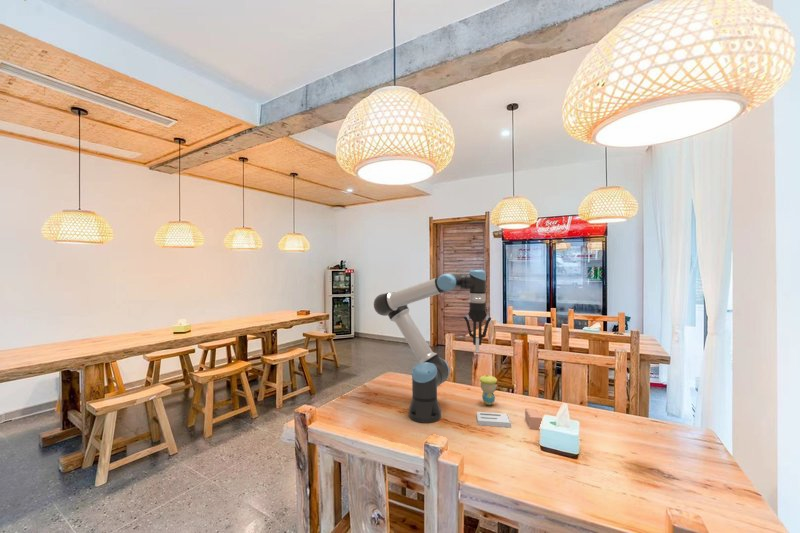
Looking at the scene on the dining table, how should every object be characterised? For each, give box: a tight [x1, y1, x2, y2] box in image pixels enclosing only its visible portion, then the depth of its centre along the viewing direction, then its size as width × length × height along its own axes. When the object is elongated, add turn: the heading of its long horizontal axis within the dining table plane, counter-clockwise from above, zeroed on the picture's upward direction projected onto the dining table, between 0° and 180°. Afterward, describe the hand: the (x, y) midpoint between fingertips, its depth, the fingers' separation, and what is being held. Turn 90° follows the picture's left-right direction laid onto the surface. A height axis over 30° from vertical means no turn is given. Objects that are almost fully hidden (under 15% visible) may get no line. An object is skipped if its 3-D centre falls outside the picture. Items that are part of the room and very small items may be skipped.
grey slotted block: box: [476, 411, 512, 428], centre depth 143 cm, size 14×9×2 cm, turn 80°
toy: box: [478, 374, 498, 406], centre depth 162 cm, size 8×9×15 cm
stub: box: [524, 408, 543, 430], centre depth 141 cm, size 5×9×5 cm, turn 170°
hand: (477, 351), depth 152 cm, fingers closed
